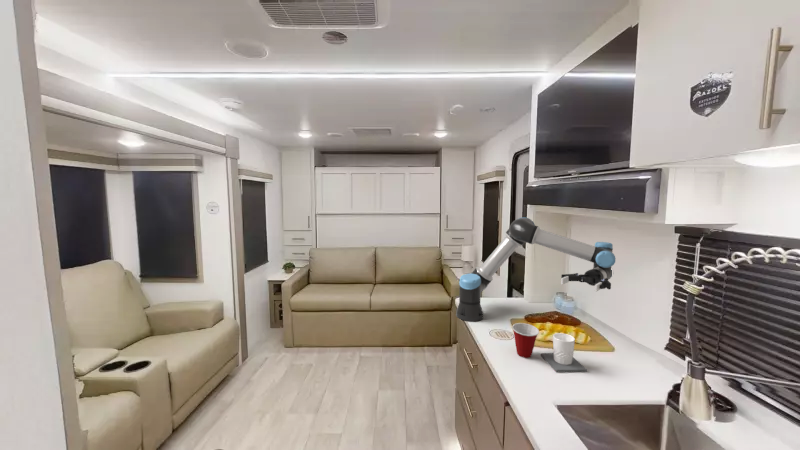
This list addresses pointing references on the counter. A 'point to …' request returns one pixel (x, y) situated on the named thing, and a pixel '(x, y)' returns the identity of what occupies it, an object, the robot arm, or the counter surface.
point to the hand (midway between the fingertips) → (578, 284)
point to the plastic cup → (524, 338)
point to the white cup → (563, 348)
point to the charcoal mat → (563, 368)
